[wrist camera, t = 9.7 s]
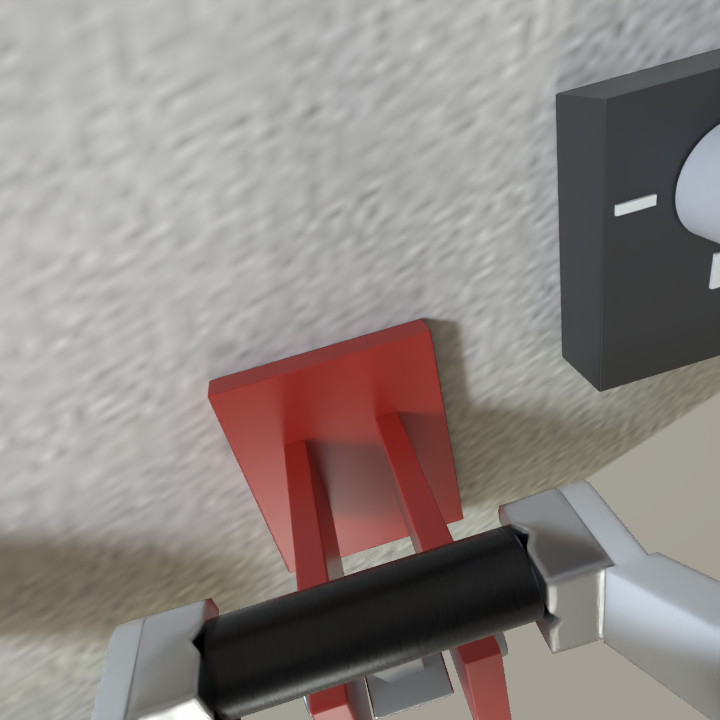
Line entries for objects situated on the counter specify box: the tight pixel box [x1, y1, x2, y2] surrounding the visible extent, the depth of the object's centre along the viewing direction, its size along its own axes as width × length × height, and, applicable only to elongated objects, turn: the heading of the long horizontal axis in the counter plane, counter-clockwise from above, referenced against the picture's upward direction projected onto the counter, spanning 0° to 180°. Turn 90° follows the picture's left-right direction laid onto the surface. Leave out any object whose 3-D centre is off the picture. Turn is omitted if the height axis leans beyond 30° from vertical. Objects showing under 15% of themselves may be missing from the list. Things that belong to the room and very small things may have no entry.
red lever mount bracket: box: [208, 319, 511, 720], centre depth 19 cm, size 11×9×12 cm
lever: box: [203, 526, 545, 720], centre depth 12 cm, size 11×5×2 cm, turn 13°
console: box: [556, 49, 720, 392], centre depth 20 cm, size 12×9×3 cm
